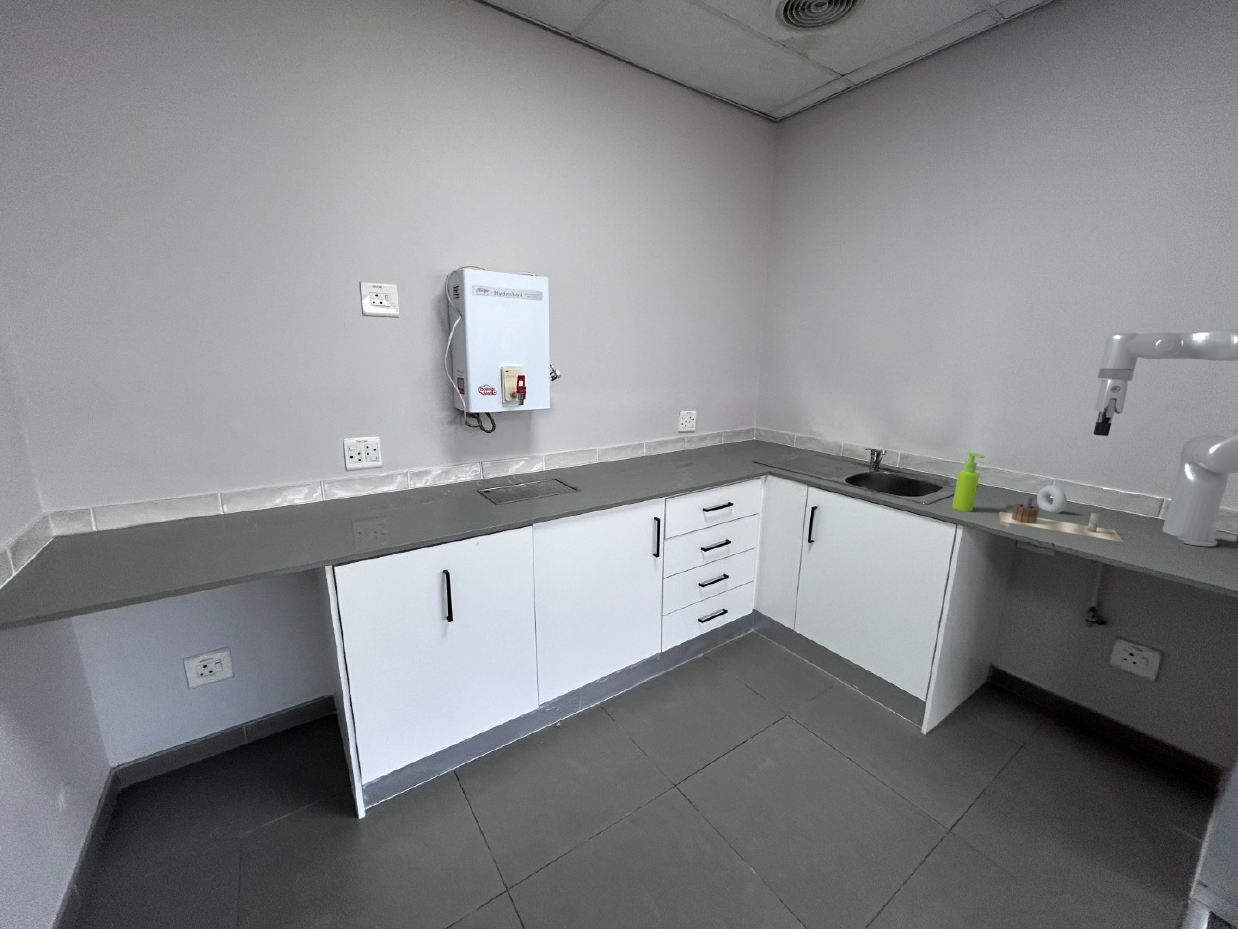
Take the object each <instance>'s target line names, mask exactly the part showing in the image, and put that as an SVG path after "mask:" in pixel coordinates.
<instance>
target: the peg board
mask: <svg viewBox="0 0 1238 929" xmlns="http://www.w3.org/2000/svg"><path fill="white" fill-rule="evenodd" d="M1033 500H1034V499H1033V497H1032V496H1031V495H1026V496H1025V497H1024V500H1023V503H1022V504H1023V507H1024V508H1031V505H1032V506H1033ZM1012 514H1013V513H1011V512H1006V511H999V515H998V518H999V525H1000V526H1001V527H1007V528H1010V527H1011V524H1015V525H1021V526H1027V527H1033V528H1039V529H1044V530H1051V531H1056V532H1062V533H1066V534H1067V533H1068V534H1074V535H1080V536H1085V537H1086V536H1087V537H1091V538H1092V537H1093V538H1097V539H1104V540H1108V541H1114V542H1115V541H1116V542H1120V543H1121V542H1122V543H1124V540H1123V539H1122V538H1121V537H1120V535H1119V534H1118V533H1117V532H1116V531H1115V529H1109V528H1103V527H1099V522H1100V519H1101V514H1100V513H1096V512H1091V513H1090V518H1089V521H1088V525H1084V524H1079V523H1073V522H1067V521H1059V520H1055V519H1047V518H1042V517H1037V520H1036V523H1024V522H1019V521H1016V520H1013V519H1012Z"/></svg>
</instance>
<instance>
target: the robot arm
mask: <svg viewBox="0 0 1238 929" xmlns="http://www.w3.org/2000/svg"><path fill="white" fill-rule="evenodd" d="M1138 358H1141V359H1145V360H1164V359H1165V360H1166V359H1167V360H1171V359H1174V360H1175V359H1176V360H1178V359H1179V360H1180V359H1181V360H1182V359H1183V360H1186V359H1187V360H1188V359H1189V360H1205V361H1217V362H1218V361H1227V362H1229V361H1230V362H1233V361H1237V362H1238V328H1232V329H1228V328H1227V329H1219V330H1210V331H1200V332H1174V333H1173V332H1168V331H1166V332H1164V331H1163V332H1153V333H1152V332H1151V333H1136V332H1118V333H1117V332H1115V333H1112V334H1109V335H1108V337H1107V338H1106V341H1105V346H1104V350H1103V355H1102V359H1101V362H1100V367H1099V371H1098V375H1097V380H1098V381H1099V380H1101V382H1100V385H1099V386H1100V387H1099V389H1098V394H1097V398H1096V404H1095V410H1096V411H1097V412H1098V414H1097V419H1096V422H1095V425H1094V430H1093V435H1094V436H1099V437H1100V436H1104V437H1108V436H1109V434H1110V430H1111V426H1112V421H1113V418H1114V414H1117V415H1118V414H1122V413H1123V411H1124V407H1125V401H1126V395H1127V390H1128V382H1130V381H1131V382H1132V381H1133V377H1134V374H1135V370H1136V365H1137V363H1138ZM1232 433H1233V435H1231V436H1228V437H1226V436H1223V435H1218V434H1211V433H1210V434H1208V433H1207V434H1200V435H1198V436H1194V437H1193V438H1191V439H1189V440H1188V441H1186V443H1185V444H1184V445H1183V448H1182V449H1181V452H1180V453H1181V454H1180V460H1179V462H1180V463H1179V471H1178V474H1177V479H1176V481H1175V485H1174V488H1173V492H1172V496H1171V499H1170V502H1169V506H1168V510H1167V513H1166V516H1165V519H1164V523H1163V527H1162V532H1164V533H1166V534H1168V535H1171V536H1173V537H1175V538H1177V539H1178V540H1179V541H1180V542H1181V543H1182V544H1186V545H1192V546H1197V547H1216V546H1217V544H1218V540H1224V541H1228V542H1237V535H1236V534H1231V533H1227V532H1225V531H1223V532H1222V531H1217V530H1216V529H1215V528H1214V526H1215V522H1216V519H1217V517H1218V514H1219V511H1220V508H1221V503H1222V501H1223V497H1224V496H1225V495H1224V494H1225V492H1226V488H1227V485H1228V479H1229V474H1230V475H1231V474H1236V473H1238V422H1237V423H1236V424H1235V425H1234V427H1233V430H1232Z"/></svg>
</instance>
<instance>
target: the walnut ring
mask: <svg viewBox="0 0 1238 929" xmlns="http://www.w3.org/2000/svg"><path fill="white" fill-rule="evenodd" d="M1023 504H1024V503H1014V505H1013V511H1012V513H1011V514H1012V519H1013V520H1016V521H1019V522H1024V523H1036V520H1037V518H1038V516H1039V515H1038V514H1039V511H1040V508H1039V506H1038V507H1037V506H1035V505H1033V504H1032V505H1031V508H1024V507H1023Z"/></svg>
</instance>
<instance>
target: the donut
mask: <svg viewBox="0 0 1238 929" xmlns="http://www.w3.org/2000/svg"><path fill="white" fill-rule="evenodd" d="M1051 497H1052V498H1053V500H1052V503H1051V500H1050V498H1051ZM1036 502H1037V506H1038V508H1039V509H1042V510H1044V511H1046V512H1050V513H1054V514H1060V513H1061V512H1062V511H1064V509H1065V508H1066V505H1067V495H1066V493H1065V491H1064V490H1063V489H1062V488H1061V487H1059V486H1058V485H1052V484H1051V485H1046V486H1044V487H1042V488H1041V489H1040V490H1039V492H1038V493H1037V497H1036Z"/></svg>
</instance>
